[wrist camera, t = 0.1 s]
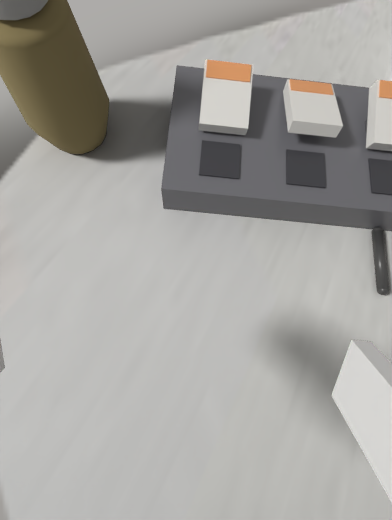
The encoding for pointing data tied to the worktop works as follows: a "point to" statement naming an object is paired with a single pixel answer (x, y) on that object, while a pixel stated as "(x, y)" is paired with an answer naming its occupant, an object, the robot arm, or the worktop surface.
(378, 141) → the rocker
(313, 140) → the power strip
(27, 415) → the worktop surface
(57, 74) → the squeeze bottle
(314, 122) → the middle rocker
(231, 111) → the rocker
